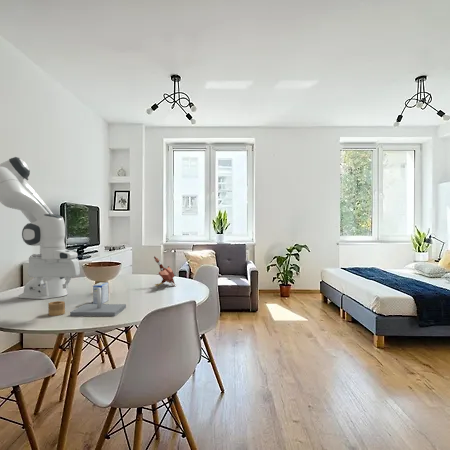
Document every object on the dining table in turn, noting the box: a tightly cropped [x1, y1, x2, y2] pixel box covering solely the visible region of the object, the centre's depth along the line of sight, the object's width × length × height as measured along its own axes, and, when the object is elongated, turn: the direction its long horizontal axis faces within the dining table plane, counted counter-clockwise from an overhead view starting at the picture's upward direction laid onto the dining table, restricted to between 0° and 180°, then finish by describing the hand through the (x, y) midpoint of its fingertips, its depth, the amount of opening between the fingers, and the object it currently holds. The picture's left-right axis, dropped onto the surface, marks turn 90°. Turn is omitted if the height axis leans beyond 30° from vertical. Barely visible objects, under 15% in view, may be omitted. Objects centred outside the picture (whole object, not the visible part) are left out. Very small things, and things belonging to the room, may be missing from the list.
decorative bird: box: [153, 255, 176, 287], centre depth 208 cm, size 28×18×15 cm, turn 178°
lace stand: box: [69, 288, 127, 317], centre depth 150 cm, size 18×14×10 cm
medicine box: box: [92, 282, 109, 304], centre depth 167 cm, size 8×4×9 cm, turn 178°
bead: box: [47, 300, 66, 317], centre depth 146 cm, size 6×6×4 cm
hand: (54, 288), depth 146 cm, fingers open, 8 cm apart
